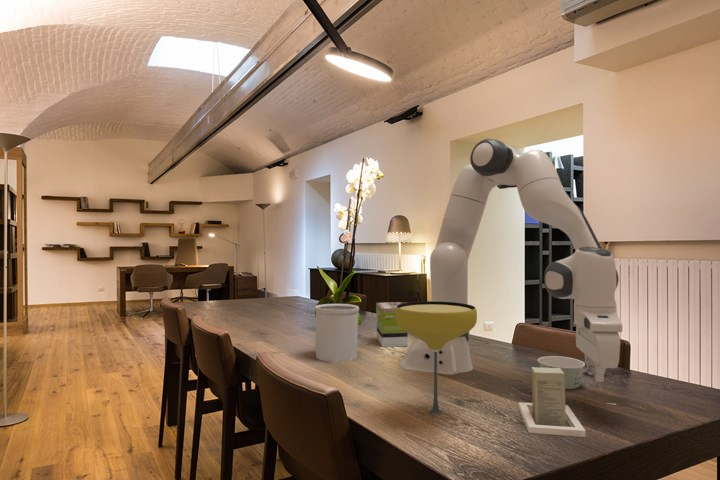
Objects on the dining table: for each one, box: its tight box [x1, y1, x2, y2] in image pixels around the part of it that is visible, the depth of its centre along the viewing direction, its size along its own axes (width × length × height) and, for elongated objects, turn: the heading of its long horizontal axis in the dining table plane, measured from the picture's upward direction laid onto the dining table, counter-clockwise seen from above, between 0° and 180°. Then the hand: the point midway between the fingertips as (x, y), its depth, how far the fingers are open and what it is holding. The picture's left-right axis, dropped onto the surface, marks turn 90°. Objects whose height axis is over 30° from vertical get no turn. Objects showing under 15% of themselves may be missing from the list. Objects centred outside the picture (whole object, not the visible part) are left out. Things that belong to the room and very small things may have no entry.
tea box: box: [375, 301, 409, 348], centre depth 183 cm, size 15×10×15 cm
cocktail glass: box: [395, 300, 478, 415], centre depth 107 cm, size 18×18×25 cm
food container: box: [537, 355, 586, 390], centre depth 130 cm, size 12×12×6 cm
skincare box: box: [531, 366, 567, 427], centre depth 102 cm, size 6×4×12 cm
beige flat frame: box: [518, 401, 587, 438], centre depth 101 cm, size 11×14×2 cm
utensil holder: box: [314, 303, 360, 363], centre depth 159 cm, size 15×15×18 cm
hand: (595, 377), depth 110 cm, fingers open, 4 cm apart
